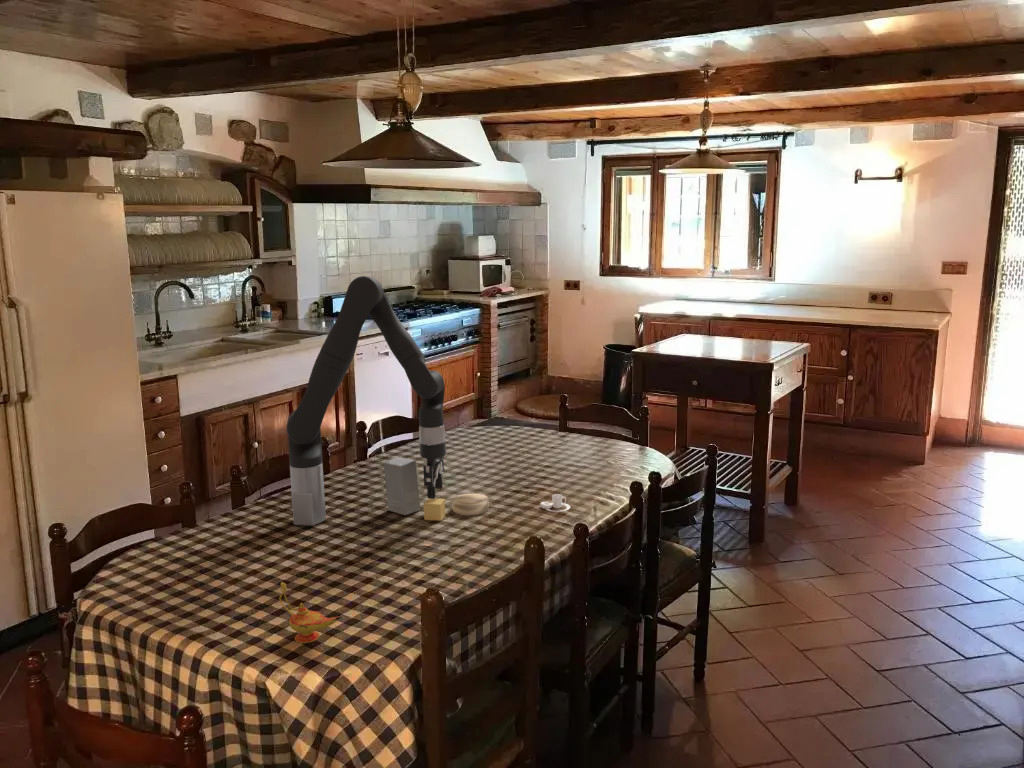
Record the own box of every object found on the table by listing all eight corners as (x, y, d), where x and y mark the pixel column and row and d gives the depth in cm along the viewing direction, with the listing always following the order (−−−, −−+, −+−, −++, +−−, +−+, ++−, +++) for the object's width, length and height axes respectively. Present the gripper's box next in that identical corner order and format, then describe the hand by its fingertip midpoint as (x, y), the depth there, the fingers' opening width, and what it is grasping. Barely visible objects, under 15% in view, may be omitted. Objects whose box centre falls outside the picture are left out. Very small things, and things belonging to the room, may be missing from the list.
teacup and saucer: (537, 510, 247) (537, 497, 246) (548, 502, 254) (548, 489, 253) (563, 514, 243) (563, 501, 242) (574, 506, 250) (574, 493, 249)
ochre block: (441, 520, 239) (440, 504, 238) (424, 520, 240) (423, 503, 239) (445, 514, 244) (444, 498, 243) (429, 514, 244) (428, 498, 243)
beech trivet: (484, 516, 242) (484, 505, 241) (448, 514, 243) (448, 504, 243) (491, 503, 252) (491, 493, 252) (457, 502, 254) (456, 492, 253)
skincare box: (421, 510, 247) (419, 460, 244) (402, 517, 242) (400, 465, 239) (403, 504, 253) (400, 455, 250) (384, 510, 248) (382, 460, 244)
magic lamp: (334, 657, 165) (331, 606, 163) (269, 635, 174) (266, 587, 172) (356, 641, 171) (354, 592, 168) (293, 622, 180) (290, 575, 177)
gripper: (426, 433, 245) (429, 485, 248) (413, 446, 231) (416, 501, 234) (450, 433, 244) (453, 485, 247) (439, 447, 230) (441, 502, 233)
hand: (435, 493), depth 241 cm, fingers open, 8 cm apart
